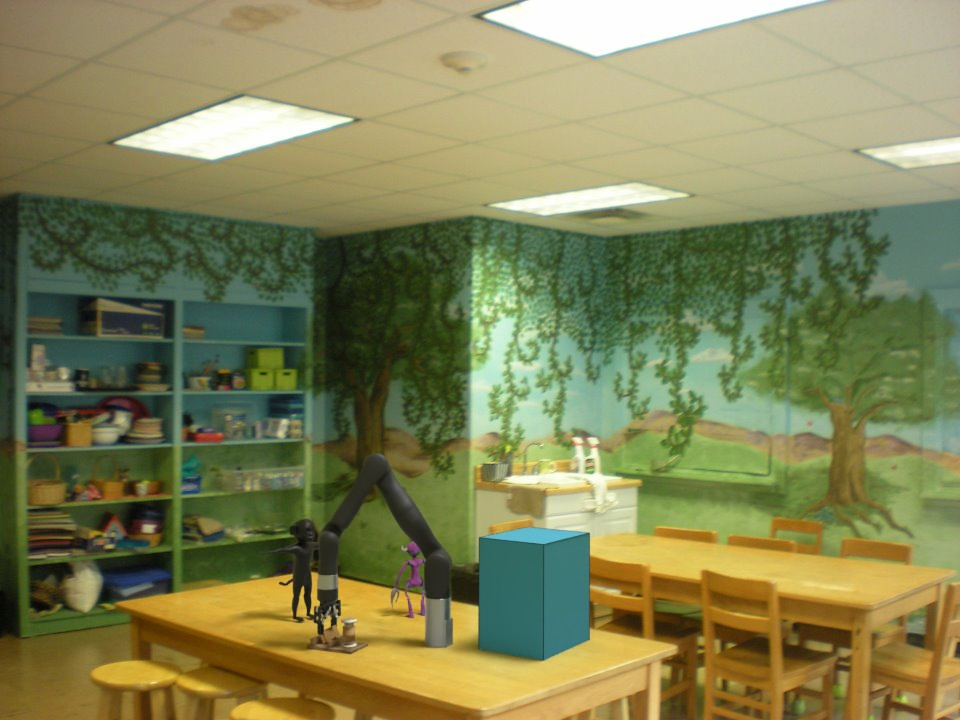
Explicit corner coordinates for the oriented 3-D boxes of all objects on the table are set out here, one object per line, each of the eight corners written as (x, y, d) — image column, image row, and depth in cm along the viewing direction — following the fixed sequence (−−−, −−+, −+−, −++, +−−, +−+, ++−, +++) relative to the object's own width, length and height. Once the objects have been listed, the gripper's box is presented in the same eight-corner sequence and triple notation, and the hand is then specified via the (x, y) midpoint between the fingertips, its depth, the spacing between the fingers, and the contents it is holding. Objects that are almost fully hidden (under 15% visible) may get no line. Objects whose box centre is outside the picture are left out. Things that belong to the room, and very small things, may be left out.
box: (478, 651, 346) (478, 537, 347) (527, 632, 374) (527, 526, 375) (543, 663, 331) (543, 544, 332) (589, 642, 359) (590, 532, 360)
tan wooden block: (328, 641, 353) (341, 635, 351) (323, 644, 350) (335, 637, 348) (323, 630, 354) (336, 623, 352) (318, 632, 351) (330, 626, 349)
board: (368, 646, 351) (368, 617, 351) (350, 654, 340) (351, 624, 340) (325, 641, 358) (325, 612, 359) (307, 649, 347) (307, 619, 348)
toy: (425, 610, 409) (426, 538, 410) (438, 614, 402) (439, 540, 403) (387, 617, 397) (388, 542, 398) (400, 621, 390) (400, 545, 391)
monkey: (271, 630, 374) (273, 525, 375) (238, 622, 387) (240, 520, 388) (348, 612, 404) (349, 515, 405) (316, 605, 417) (316, 511, 418)
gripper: (325, 591, 344) (325, 637, 343) (347, 583, 357) (346, 628, 356) (307, 589, 347) (307, 635, 346) (329, 582, 360) (329, 626, 359)
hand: (327, 632), depth 351 cm, fingers open, 8 cm apart
